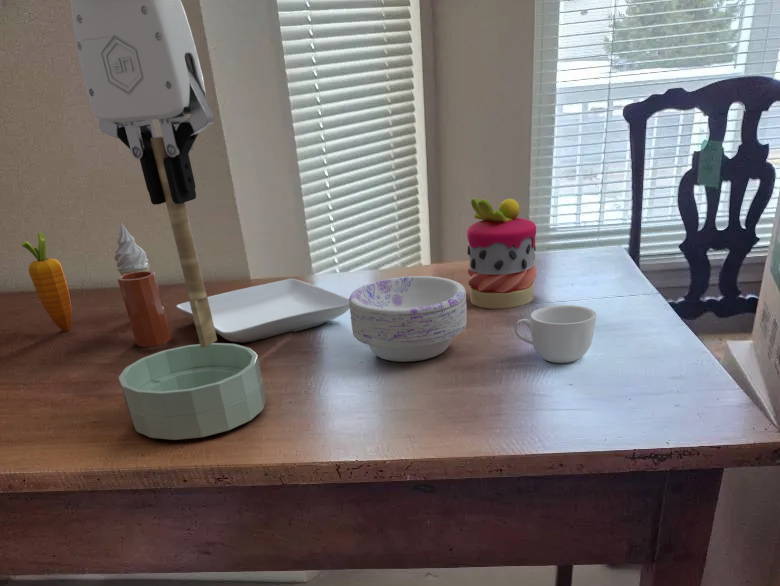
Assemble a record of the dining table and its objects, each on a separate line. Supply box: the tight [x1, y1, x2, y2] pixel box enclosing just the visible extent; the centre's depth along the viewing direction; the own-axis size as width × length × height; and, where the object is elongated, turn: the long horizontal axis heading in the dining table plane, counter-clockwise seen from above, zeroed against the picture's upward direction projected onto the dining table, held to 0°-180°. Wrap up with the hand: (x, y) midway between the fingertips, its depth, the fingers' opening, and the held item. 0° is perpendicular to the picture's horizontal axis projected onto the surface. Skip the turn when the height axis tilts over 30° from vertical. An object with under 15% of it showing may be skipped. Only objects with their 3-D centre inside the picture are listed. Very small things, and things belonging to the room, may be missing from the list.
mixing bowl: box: [117, 342, 267, 441], centre depth 84 cm, size 15×15×6 cm
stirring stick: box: [150, 135, 218, 348], centre depth 74 cm, size 2×2×20 cm
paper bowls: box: [348, 275, 468, 363], centre depth 96 cm, size 15×15×8 cm
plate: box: [175, 278, 350, 343], centre depth 113 cm, size 21×21×3 cm
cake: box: [466, 197, 537, 310], centre depth 111 cm, size 10×11×15 cm
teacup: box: [514, 304, 597, 364], centre depth 91 cm, size 10×8×5 cm
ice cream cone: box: [114, 221, 151, 276], centre depth 117 cm, size 5×5×15 cm
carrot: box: [21, 232, 73, 332], centre depth 113 cm, size 5×5×15 cm
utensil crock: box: [117, 270, 172, 348], centre depth 106 cm, size 5×5×10 cm
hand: (174, 200), depth 72 cm, fingers closed on stirring stick, 1 cm apart
